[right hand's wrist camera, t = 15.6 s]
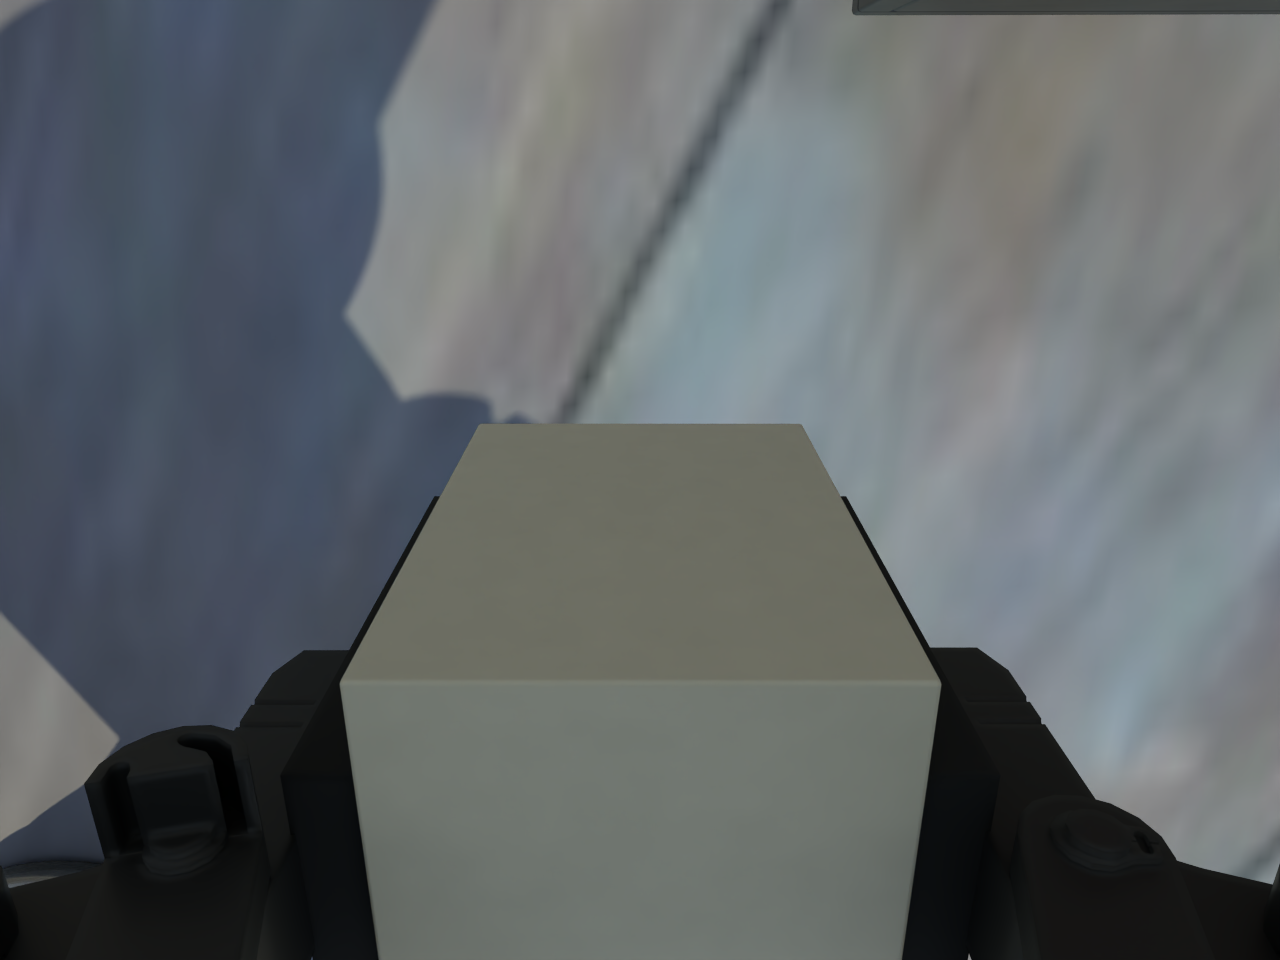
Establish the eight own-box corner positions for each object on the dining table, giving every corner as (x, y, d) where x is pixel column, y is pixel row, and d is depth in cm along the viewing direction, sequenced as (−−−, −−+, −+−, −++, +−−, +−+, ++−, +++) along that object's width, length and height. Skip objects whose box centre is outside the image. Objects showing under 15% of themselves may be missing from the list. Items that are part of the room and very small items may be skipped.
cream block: (497, 696, 16) (396, 1096, 9) (478, 422, 14) (337, 682, 7) (783, 696, 16) (883, 1096, 9) (802, 423, 14) (943, 681, 7)
